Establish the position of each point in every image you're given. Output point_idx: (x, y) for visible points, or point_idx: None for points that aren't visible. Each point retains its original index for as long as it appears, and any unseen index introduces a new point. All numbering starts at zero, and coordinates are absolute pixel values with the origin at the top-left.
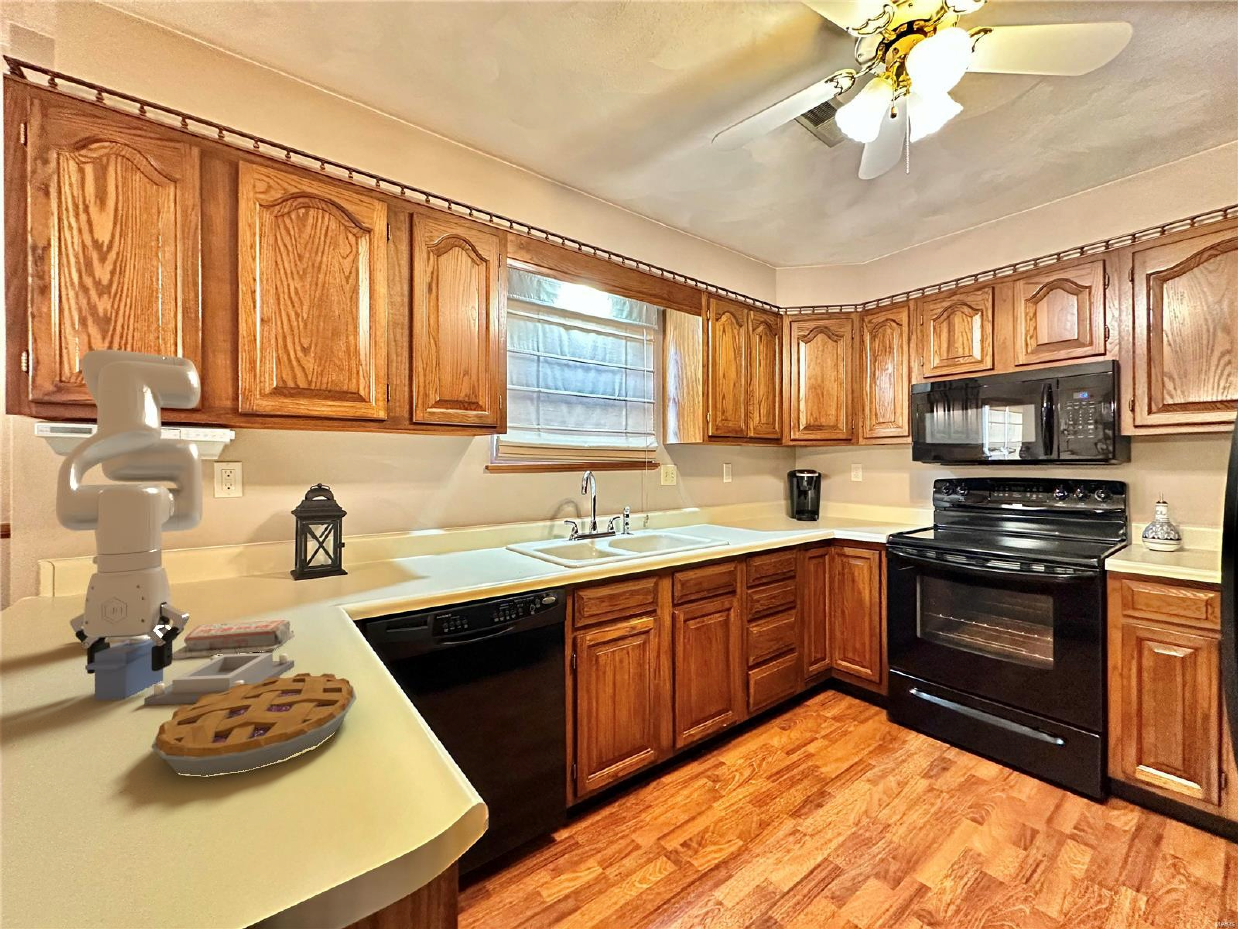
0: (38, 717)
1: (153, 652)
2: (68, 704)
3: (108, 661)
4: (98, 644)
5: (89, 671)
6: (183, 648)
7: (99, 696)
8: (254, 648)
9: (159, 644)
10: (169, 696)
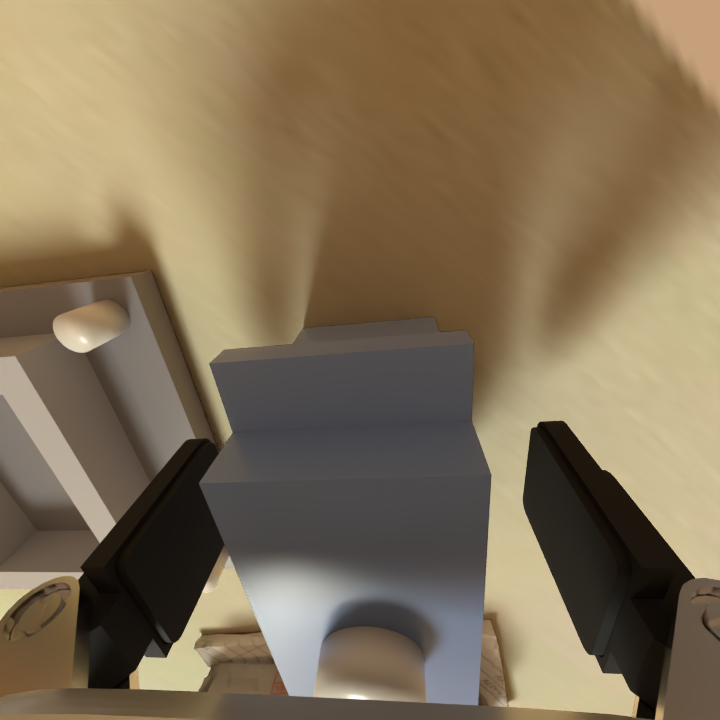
0: (542, 114)
1: (124, 524)
2: (521, 273)
3: (361, 427)
4: (635, 636)
5: (553, 427)
6: (490, 671)
7: (415, 325)
8: (253, 651)
9: (67, 591)
10: (38, 295)
